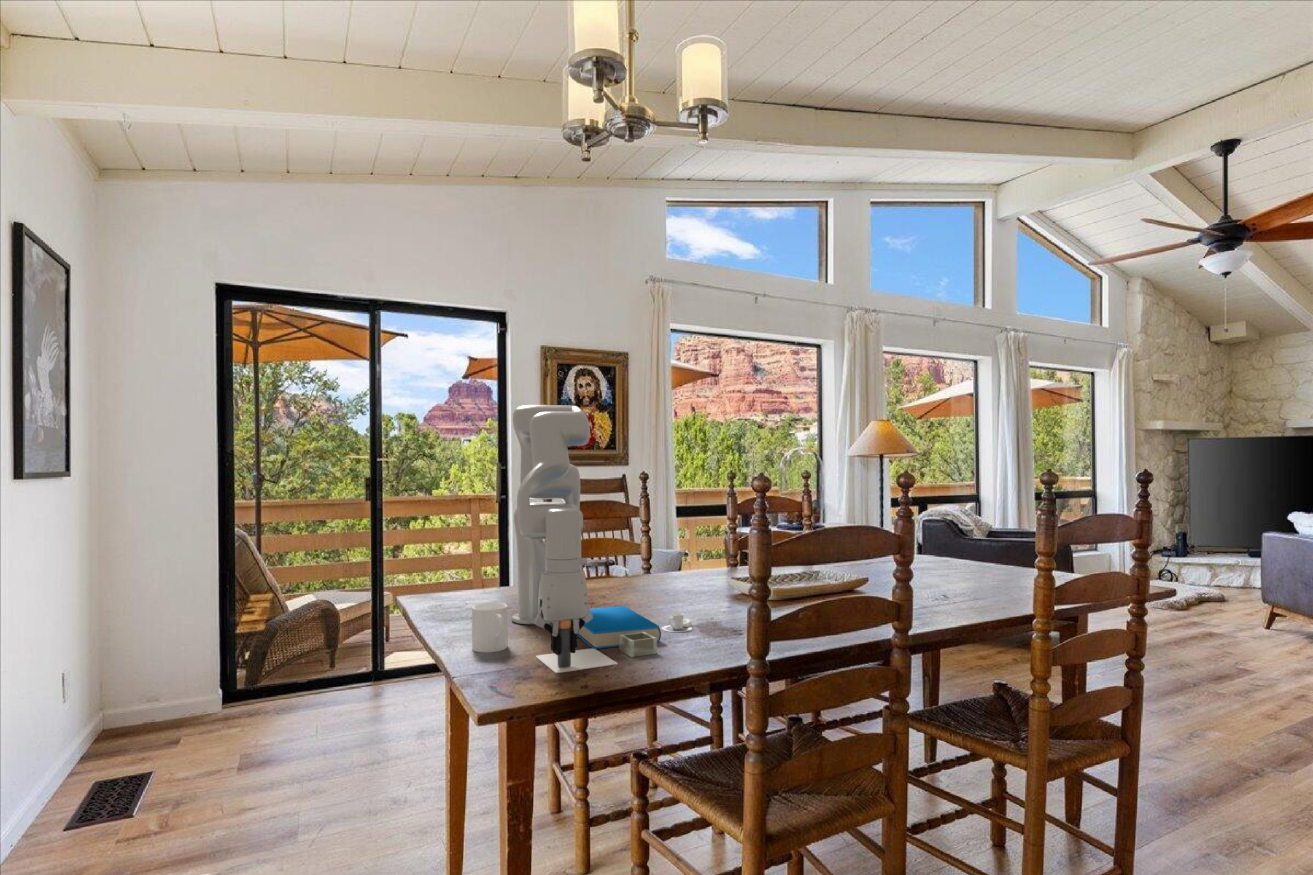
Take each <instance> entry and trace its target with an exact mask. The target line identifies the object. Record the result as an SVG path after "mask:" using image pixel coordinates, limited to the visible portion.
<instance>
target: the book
mask: <svg viewBox="0 0 1313 875" xmlns="http://www.w3.org/2000/svg"><path fill="white" fill-rule="evenodd" d="M589 610H590V612H591V614H592V616H593V619H592V620H590V621H589V622H587V623H585V624H584V626H583V627H582V628H581V629H580V630H579V633H578V634H577V638H579V639H581V640H582V641H583V642H584V643H585V644H587V645H588V647H591V648H593V649H596V650H597V649H607V648H614V647H615V648H617V647H618V648H619V635H624V634H632V633H640V632H646V633H648V634H650V635H652V636H654V637H656V638H657V644H659V643H660V640H661V637H662V631H661V628H660V626H659V624H656V623H654V622H653V621H651V620H649V619H647V618H646V617H644V616H643V615H641V614H638V613H637V612H635V611H634V610H632V609H630V608H628V606H625V605H620V606H610V607H609V606H607V607H596V608H589Z"/></svg>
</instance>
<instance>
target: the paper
mask: <svg viewBox="0 0 1313 875" xmlns="http://www.w3.org/2000/svg"><path fill="white" fill-rule="evenodd" d="M575 651H576V652H575V653H571V665H570V666H566V667H561V666H558V655H556V654H554V653H553V652H552V653H546V654H538V655H535V656H534V657H535V658H536V659H538V661H540V662H541V663H542V664H544V666H546V667H547V668H549V669H550V670H551V671H552V672H554V673H555V674H559V673H561V674H562V673H567V672H568V673H569V672H574V671H579V670H580V671H582V670H586V669H587V670H588V669H594V668H601V667H608V666H615V665H616V666H617V665H618V664H619V663H618V662H616V661H615V660H614V659H612V658H610V657H609V656H607V655H605V654H604V653H602V652H600V651H599V650H597V649H593V648H592V647H591V648H585V649H578V650H577V649H575Z"/></svg>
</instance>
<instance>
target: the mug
mask: <svg viewBox="0 0 1313 875" xmlns="http://www.w3.org/2000/svg"><path fill="white" fill-rule="evenodd" d="M508 608H509V607H508V604H506V603H504V602H503V603H502V602H484V603H483V602H482V603H477V604H474V605H473V606H472V607H471V638H472V639H471V649H472V651H474V652H477V653H482V654H483V653H484V654H485V653H487V654H488V653H498V652H502V651H504V650H507V648H508V647H509V646H508V645H509V644H508V643H509V640H508V638H509V636H508V635H509V634H508V631H509V630H508V626H509V624H508V612H509V611H508Z"/></svg>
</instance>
